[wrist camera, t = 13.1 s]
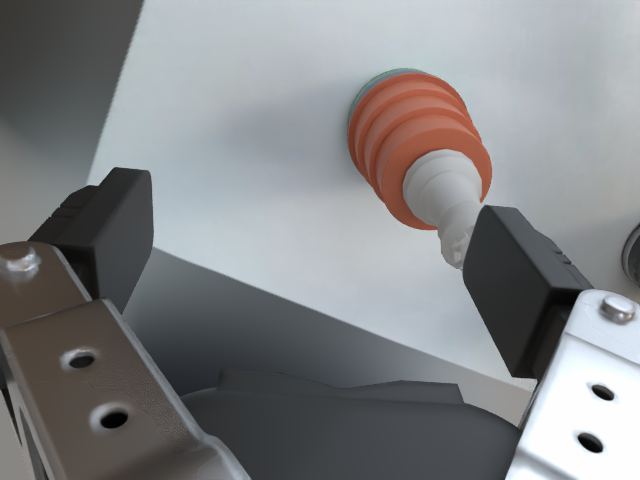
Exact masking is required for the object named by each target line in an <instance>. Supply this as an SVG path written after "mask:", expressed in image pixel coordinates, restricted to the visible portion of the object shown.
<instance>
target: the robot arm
mask: <svg viewBox="0 0 640 480" xmlns="http://www.w3.org/2000/svg"><path fill="white" fill-rule="evenodd" d="M153 236H154V228H153V204H152V181H151V175H150V172H149V171H148V170H139V169H129V168H119V167H114V168H113V169H112V170H111V172H110V173H109V174H108V175H107V176H106V178H105V179H104V180H103V181H102V182H101V183H100V185H99V186H92V185H89V186H86V187H84V188H82V189H80V190H78V191H76V192H74V193H72V194H70V195H69V196H68V197H67V198H66V200H65V201H64V202H63V203H62V204H61V205H60V208H57V209H56V210H55V211H54V212H53V214H52V216H51V217H49V218H48V219H47V220H46V221H45V222H44V223H43V224H42V225H41V226H40V228H39V229H38V230H37V231H36V232H35V233H34V234H33V235H32V236H31V237H30V238H29V239H28V240H27V241H22V242H13V243H7V244H3V245H0V394H1V397H2V399H3V402H4V405H5V408H6V410H7V413H8V416H9V419H10V422H11V425H12V427H13V430H14V433H15V436H16V439H17V441H18V444H19V447H20V450H21V452H22V455H23V458H24V461H25V464H26V467H27V470H28V473H29V476H30V479H31V480H640V305H639V304H637V303H636V302H634V301H632V300H630V299H628V298H626V297H624V296H622V295H619V294H616V293H613V292H609V291H605V290H598V289H595V288H594V287H593V286H592V285H591V284H590V283H589V282H588V281H587V279H586V278H585V277H584V276H583V275H582V274H581V273H580V272H579V270H578V269H577V268H576V267H575V266H574V265H571V261H570V260H569V259H568V258H567V257H566V256H565V255H562V251H561V250H560V249H559V248H558V247H557V246H556V244H555V243H554V242H553V241H552V240H551V239H549V238H548V237H546V236H544V235H543V234H541V233H540V232H538V231H537V230H535V229H534V228H533V227H532V225H531V224H530V223H529V222H528V221H527V220H526V218H525V217H524V216H523V215H522V214H521V213H520V212H519V210H518V209H516V208H510V207H500V206H490V205H485V206H484V207H482V209H481V210H480V212H479V214H478V217H477V220H476V223H475V226H474V230H473V233H472V236H471V239H470V242H469V245H468V248H467V252H466V255H465V258H464V262H463V280H464V283H465V286H466V288H467V289H468V291H469V293H470V295H471V297H472V299H473V301H474V303H475V305H476V307H477V309H478V311H479V313H480V315H481V317H482V319H483V321H484V323H485V325H486V327H487V329H488V331H489V333H490V335H491V337H492V339H493V341H494V343H495V345H496V347H497V349H498V350H499V352H500V354H501V356H502V358H503V360H504V362H505V364H506V366H507V368H508V370H509V372H510V374H511V376H512V377H515V378H531V379H537V381H538V383H537V385H536V387H535V389H534V391H533V393H532V396H531V398H530V400H529V402H528V405H527V407H526V409H525V412H524V414H523V416H522V418H521V421H520V423H519V425H518V428H517V427H516V426H514V425H513V424H511V423H510V422H508V421H506V420H504V419H503V418H501V417H499V416H497V415H495V414H493V413H491V412H489V411H486V410H484V409H481V408H478V407H476V406H473V405H470V404H467V403H464V401H463V398H462V395H461V393H460V390H459V387H458V385H457V384H450V383H435V382H419V381H403V380H400V381H393V382H387V383H380V384H373V385H366V386H360V387H353V388H338V387H333V386H330V385H326V384H322V383H318V382H314V381H310V380H306V379H302V378H299V377H295V376H291V375H287V374H284V373H277V372H276V373H275V372H260V371H245V370H228V369H220V374H219V380H218V385H217V387H216V388H210V389H205V390H201V391H197V392H193V393H190V394H187V395H184V396H182V397H178V395H177V394H176V393H175V391H174V390H173V388H172V387H171V386H170V384H169V383H168V381H167V380H166V378H165V377H164V375H163V374H162V373H161V371H160V370H159V368H158V367H157V365H156V364H155V363H154V361H153V360H152V358H151V357H150V356H149V354H148V353H147V351H146V350H145V348H144V347H143V346H142V344H141V343H140V341H139V340H138V339H137V337H136V336H135V334H134V333H133V331H132V330H131V328H130V327H129V326H128V324H127V323H126V321H125V320H124V318H123V317H122V316H121V315H122V313H123V311H124V309H125V307H126V305H127V303H128V300H129V298H130V296H131V294H132V292H133V290H134V288H135V286H136V284H137V282H138V280H139V278H140V275H141V273H142V271H143V269H144V267H145V265H146V263H147V261H148V259H149V257H150V254H151V250H152V245H153ZM623 267H624V270H625V272H626V274H627V276H628V277H629V278H630V279H631V280H632V281H633V282H634V283H635V284H636V285H637V286H639V287H640V226H639V227H638V228H637V229H636V230H635V231H634V233H633V234H632V235H631V237H630V239H629V240H628V242H627V244H626V247H625V250H624V254H623Z"/></svg>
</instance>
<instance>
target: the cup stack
mask: <svg viewBox="0 0 640 480" xmlns="http://www.w3.org/2000/svg"><path fill="white" fill-rule="evenodd" d="M348 147H349V151H350V155H351V158H352V160H353V162H354V164H355V166H356V168H357V169H358V171H359V172H360V173H361V174H362V176H364V177H365V179H366V181H367V182H368V183H369V184H370V185H371V186H372V187H373V189H374V191H375V193H376V194H377V196H378V197H379V198H380V199H381V201H383V202H384V203H385V205H386V207H387V208H388V210H389V212H390V213H391V214H392V215H393V216H394V217H395V218H396V219H397V220H399V221H400V222H402V223H403V224H405V225H407V226H409V227H412V228H415V229H420V230H438V228H437V227H436V226H433V225H429V224H426V223H425V222H423V221H422V220H420V219H419V218H417V217H416V216H414V214H413V213H412V211H411V210H410V208H409V207H408V205H407V203H406V201H405V200H404V197H403V182H404V179H405V176H406V173H407V171H408V170H409V169H410V167H411V166H412V165H413V164H414V163H415V162H416V160H417V159H419V158H421V157H422V156H424V155H426V154H428V153H430V152H431V151H438V150H444V149H449V150H453V151H458V152H461V153H463V154H464V155H465V156H467V157H468V158H469V159H470V160H472V162H473V164H474V166H475V167H476V169H477V171H478V173H479V175H480V177H481V179H482V196H481V198H480V203H482V202H483V200H484V198H485V197H486V195H487V192H488V190H489V187H490V184H491V178H492V166H491V161H490V157H489V155H488V153H487V150H486V149H485V147H484V146H483V145H482V141H481V138H480V136H479V133H478V131H477V130H476V128H475V127H474V125H473V123H472V120H471V118H470V115H469V114H468V112H467V109H466V106H465V104H464V102H463V100H462V98H461V97H460V95H459V94H458V93H457V92H456V91H455V90H454V88H452V87H451V86H450V85H449V84H448V83H446V82H445V81H443V80H442V79H440V78H438V77H435V76H433V75H430V74H428V73H425V72H423V71H420V70H416V69H396V70H391V71H388V72H385V73H383V74H381V75H379V76H377V77H376V78H374V79H372V80H371V81H370V82H369V83H367V84H366V85H365V86H364V87H363V89H362V90H361V91H360V92H359V94H358V95H357V97H356V98H355V100H354V102H353V105H352V107H351V110H350V114H349V120H348Z"/></svg>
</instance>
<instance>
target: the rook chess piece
mask: <svg viewBox="0 0 640 480" xmlns="http://www.w3.org/2000/svg"><path fill="white" fill-rule="evenodd" d="M481 196H482V179H481V177H480V175H479V173H478V171H477V169H476V167H475V166H474V164H473V162H472V160H470V159H469V158H468V157H467V156H465V155H464V154H463V153H461V152H458V151H453V150H449V149H444V150H438V151H431V152H430V153H428V154H426V155H424V156H422V157H421V158H419V159H417V160H416V162H415V163H414V164H413V165H412V166H411V167H410V169H409V170H408V171H407V173H406V176H405V179H404V182H403V197H404V200H405V201H406V203H407V205H408V207H409V208H410V210H411V211H412V213H413V214H414V216H416V217H417V218H419V219H420V220H422V221H423V222H425V223H426V224H429V225H433V226H436V227H437V228H438V237H439V238H440V240H441V253H442V255H443V257H444V259H445V260H446V262H447V263H449V264H450V265H452V266H453V267H455V268H456V269H460V270H462V271H463V262H464V258H465V255H466V252H467V248H468V245H469V242H470V239H471V236H472V233H473V230H474V226H475V223H476V220H477V217H478V214H479V212H480V210H481V209H482V207H484V206H485V205H484V204H482V203H480V198H481Z"/></svg>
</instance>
